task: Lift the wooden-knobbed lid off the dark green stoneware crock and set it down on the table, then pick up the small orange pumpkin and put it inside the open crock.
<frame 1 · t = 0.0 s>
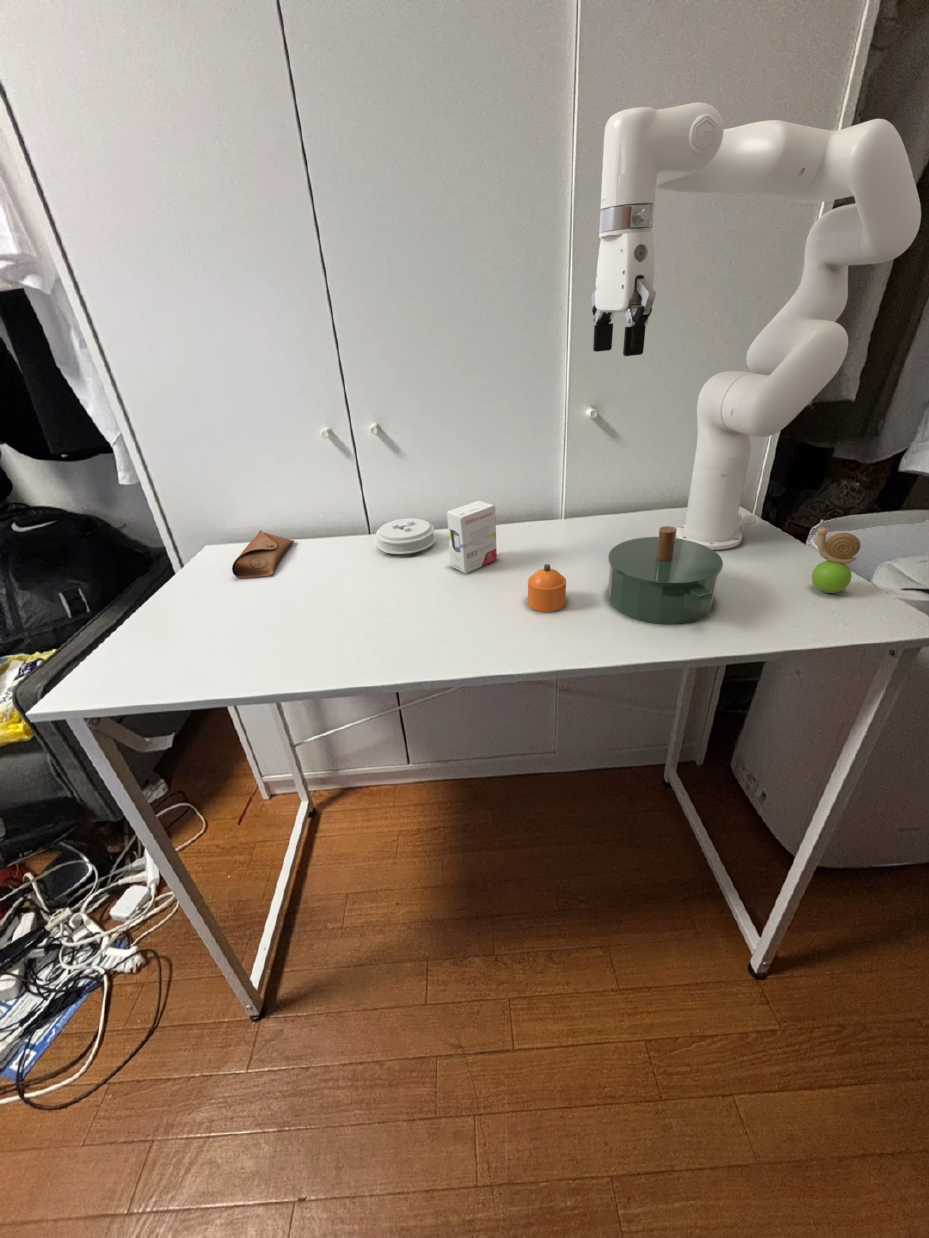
hand: (616, 353, 88), 37 cm above the table, tool pointing down, fingers open, 9 cm apart
snail figurine: (823, 591, 91), on the table
white flat cylinder: (406, 546, 120), on the table
sunglasses case: (267, 560, 118), on the table
ink box: (474, 565, 109), on the table
crock: (658, 598, 93), on the table
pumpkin: (546, 602, 94), on the table
crock lid: (663, 561, 89), point 7 cm above the table, touching crock
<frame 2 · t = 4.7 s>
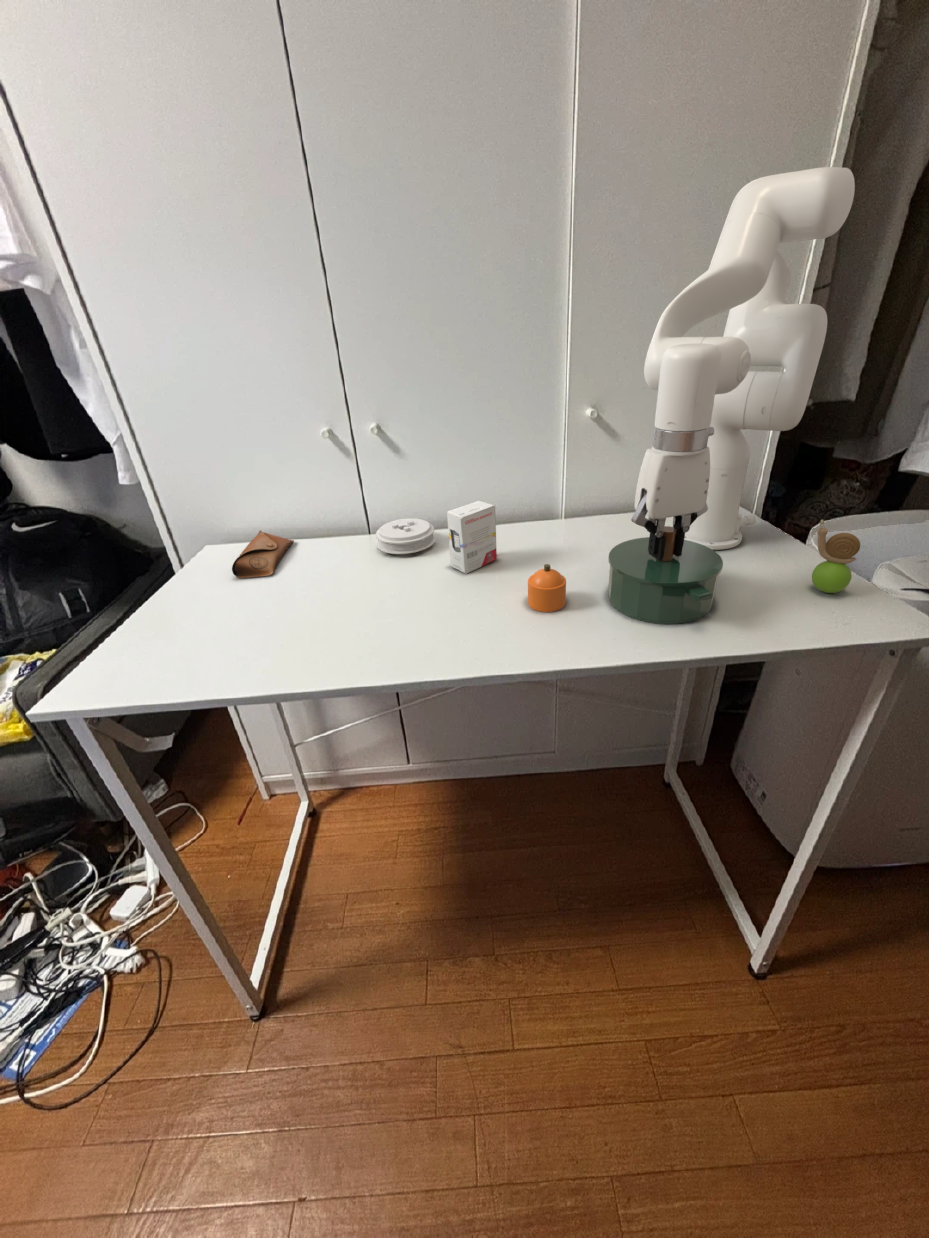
hand: (664, 554, 88), 8 cm above the table, tool pointing down, fingers closed on crock lid, 2 cm apart
crock lid: (663, 561, 89), point 7 cm above the table, touching crock, gripper
everything else where it was.
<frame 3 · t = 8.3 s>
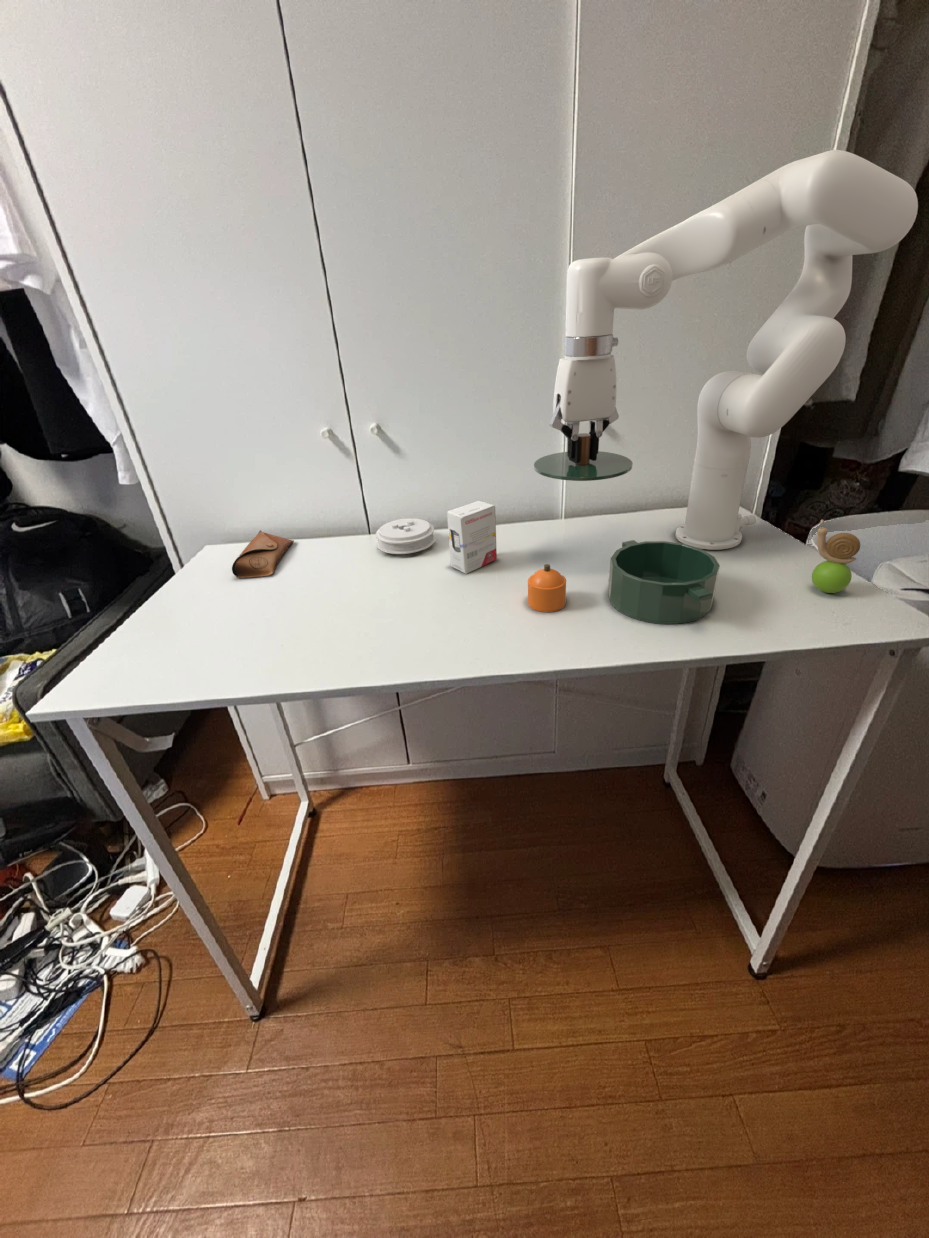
hand: (582, 459, 99), 19 cm above the table, tool pointing down, fingers closed on crock lid, 2 cm apart
crock lid: (582, 466, 99), point 18 cm above the table, touching gripper
everything else where it was.
when the fingers open (2 cm above the table, at t = 11.7 s): crock lid stays where it is, point 1 cm above the table.
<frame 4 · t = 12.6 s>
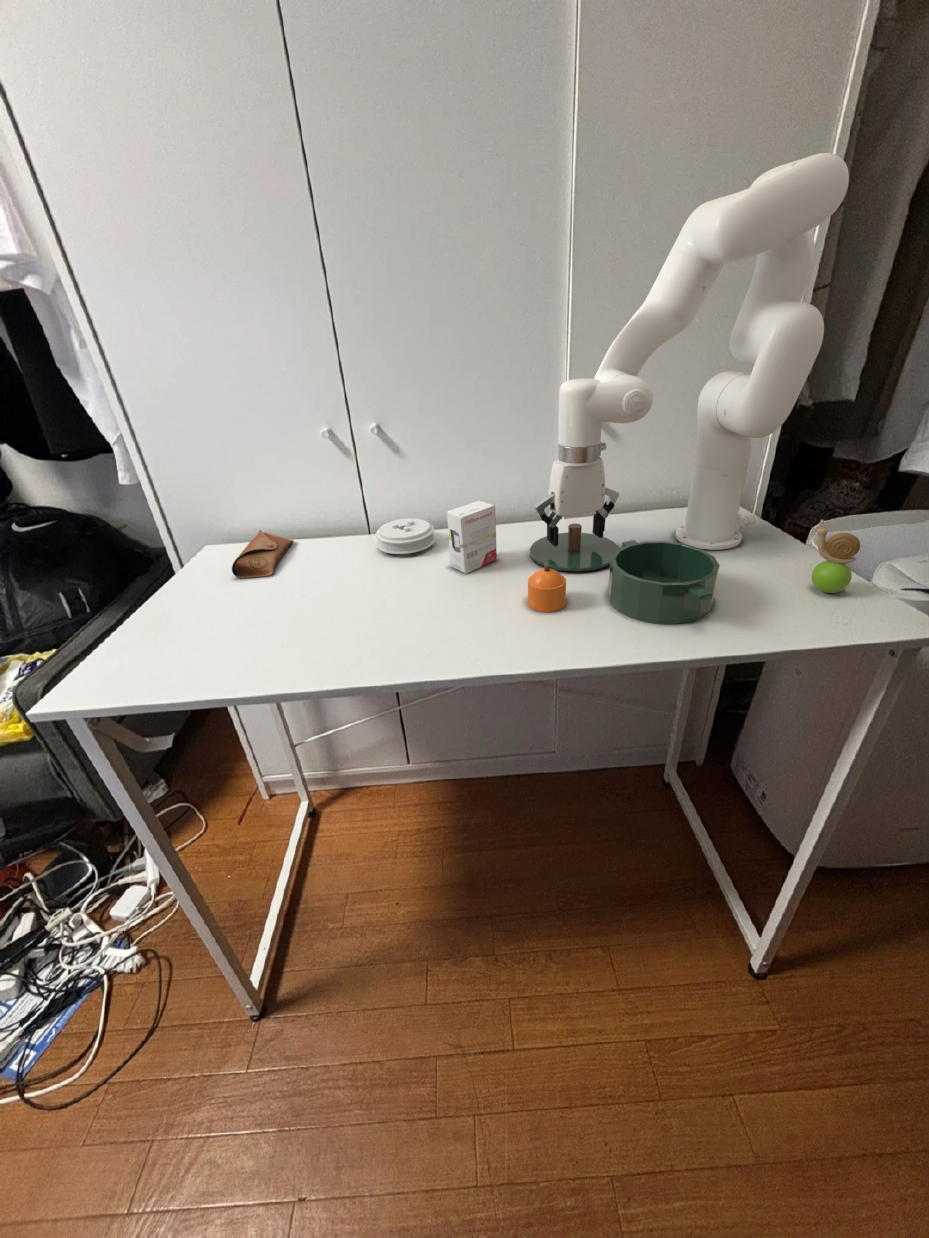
hand: (575, 539, 108), 3 cm above the table, tool pointing down, fingers open, 9 cm apart
crock lid: (574, 551, 110), point 1 cm above the table
everything else where it was.
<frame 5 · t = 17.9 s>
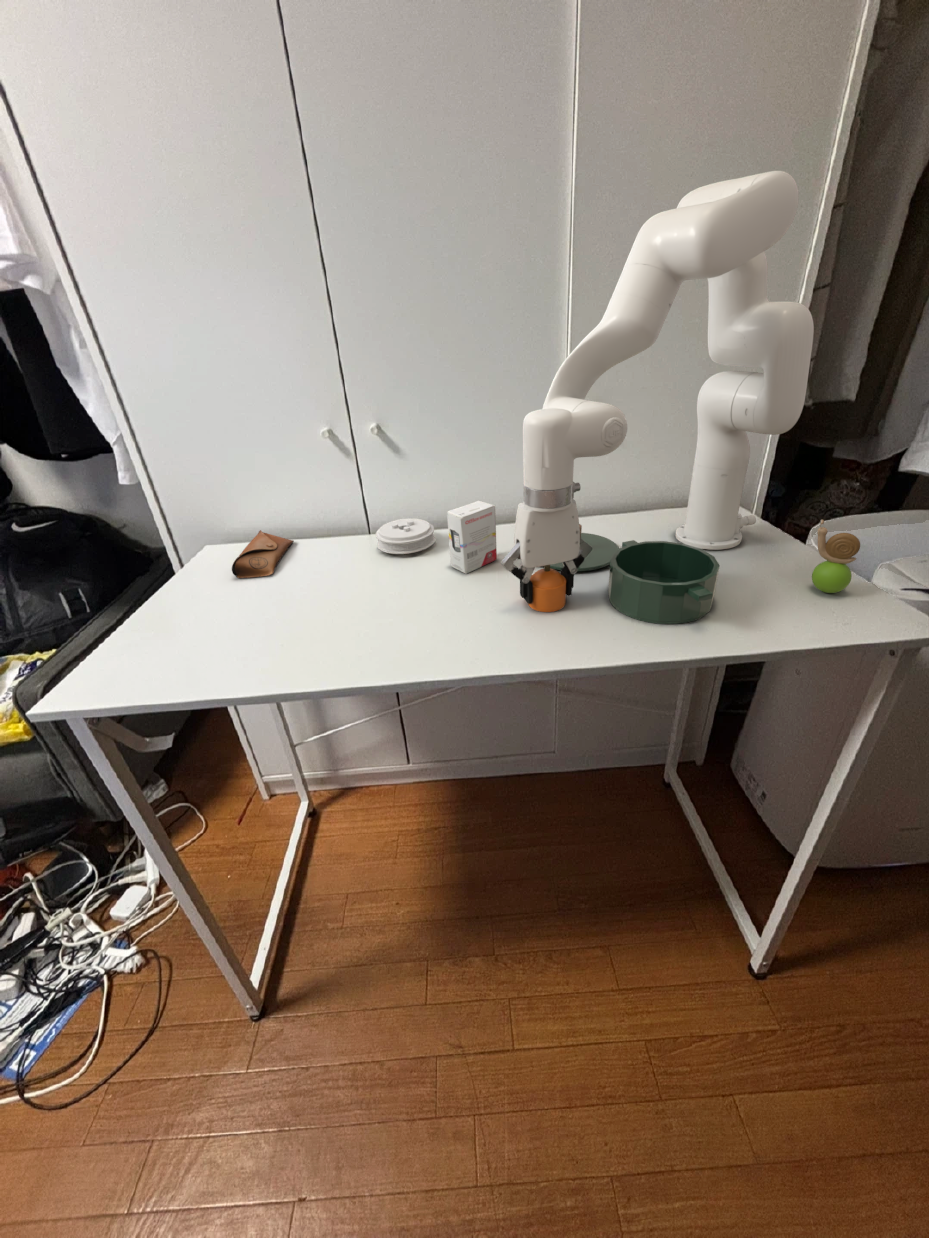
hand: (546, 595, 93), 1 cm above the table, tool pointing down, fingers closed on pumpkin, 6 cm apart
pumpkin: (546, 602, 94), on the table, touching gripper
everything else where it was.
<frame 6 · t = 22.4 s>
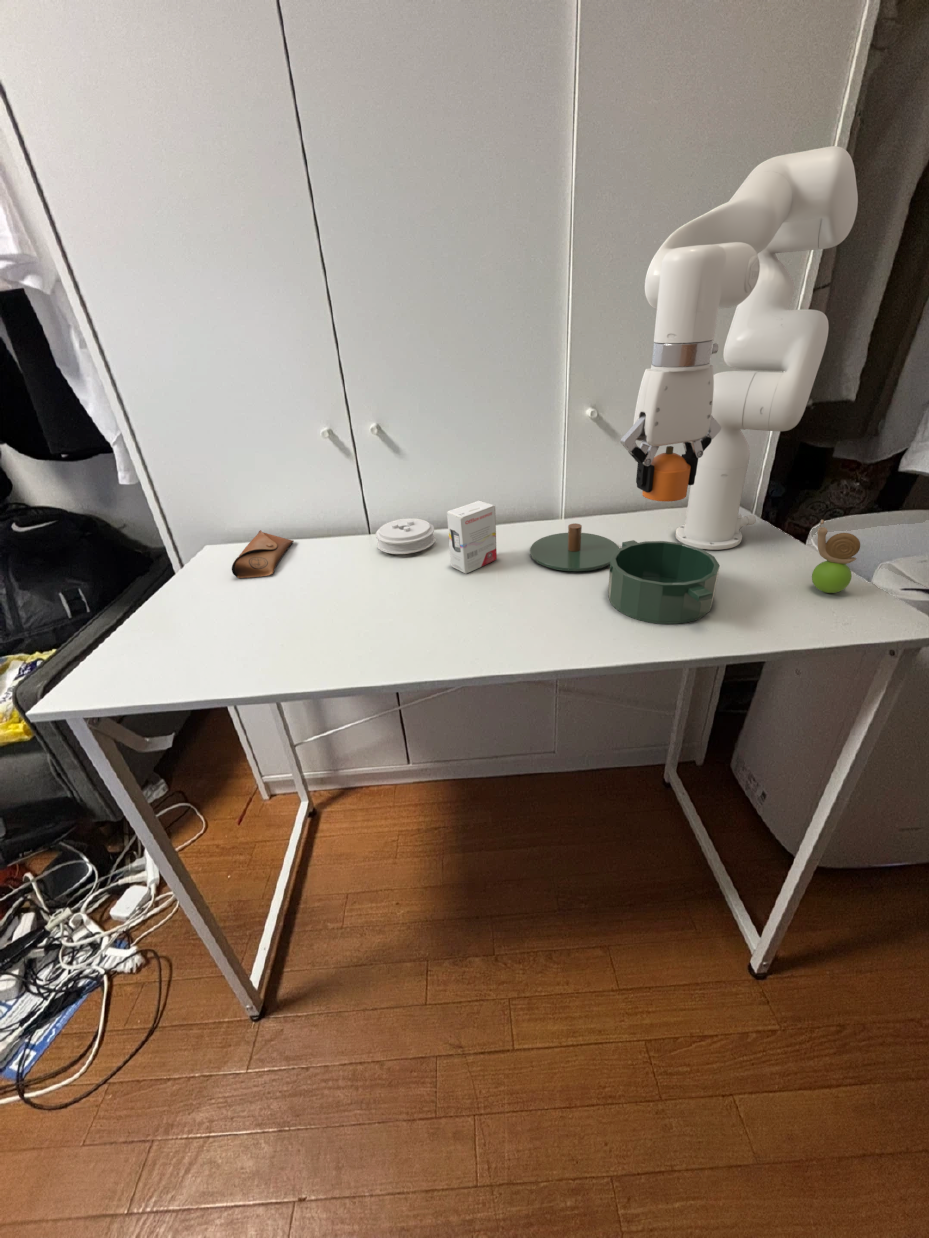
hand: (665, 485, 82), 20 cm above the table, tool pointing down, fingers closed on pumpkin, 6 cm apart
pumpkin: (664, 494, 83), point 18 cm above the table, touching gripper
everything else where it was.
when the fingers open (2 cm above the table, at t = 27.0 s): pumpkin stays where it is, resting on crock.
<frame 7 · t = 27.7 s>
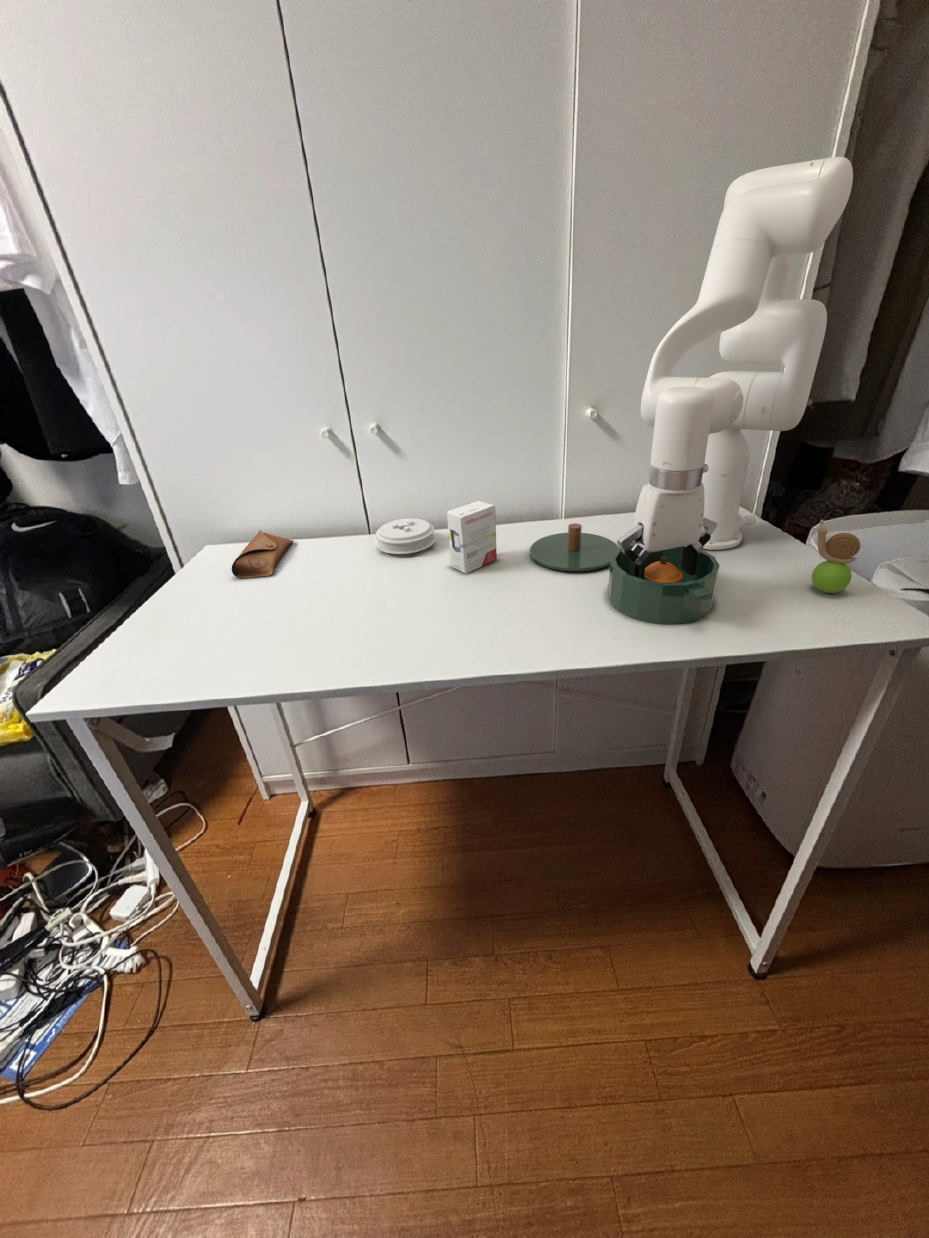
hand: (662, 577, 91), 4 cm above the table, tool pointing down, fingers open, 9 cm apart
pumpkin: (658, 596, 92), resting on crock
everything else where it was.
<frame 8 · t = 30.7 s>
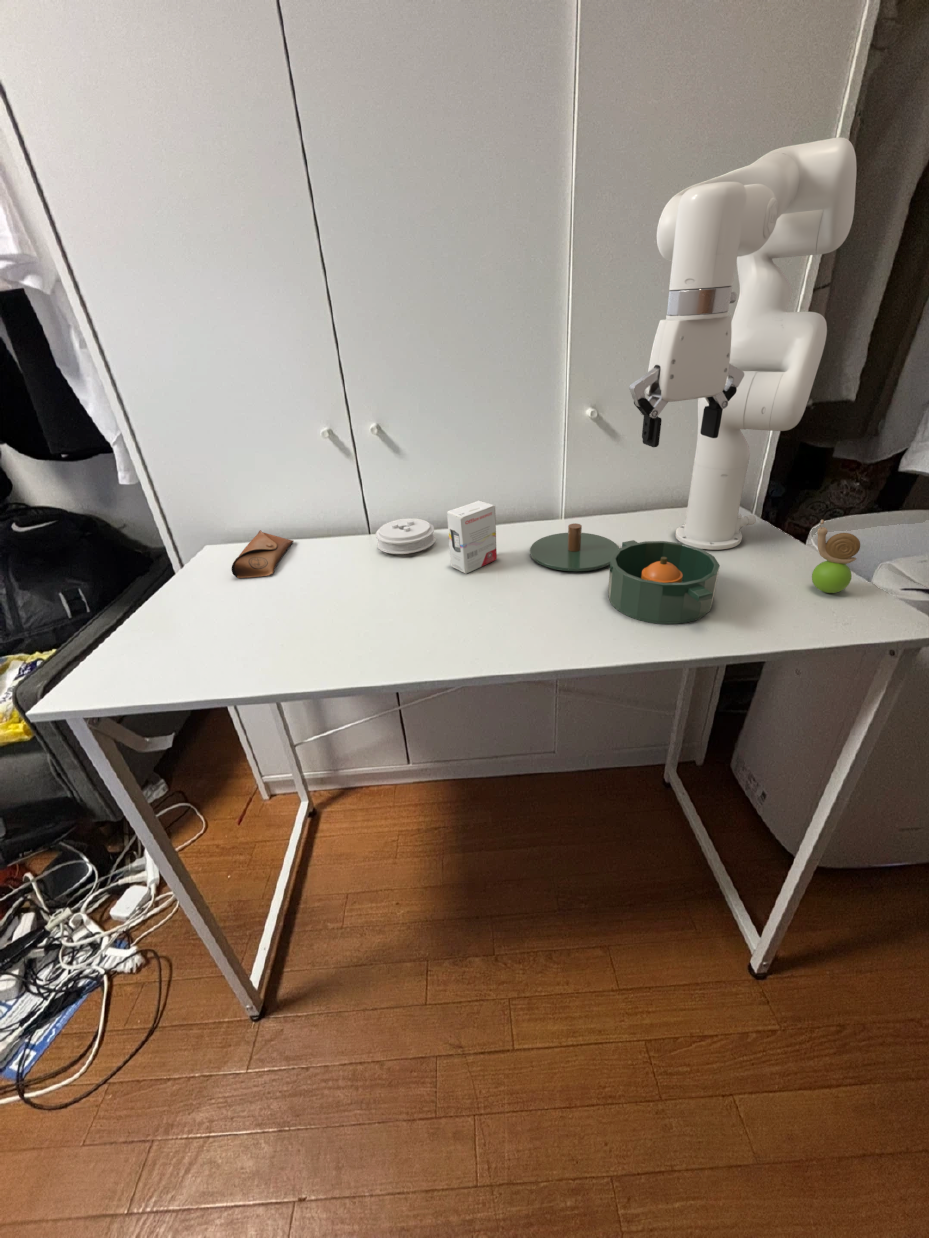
hand: (679, 440, 79), 26 cm above the table, tool pointing down, fingers open, 9 cm apart
nothing on the table moved.
at the end: crock lid inside the target area (0.1 cm from its centre), point 0.6 cm above the table; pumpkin inside the target area in the crock (0.1 cm from its centre), point 0.5 cm above the crock's base; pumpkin tilted 0° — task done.
